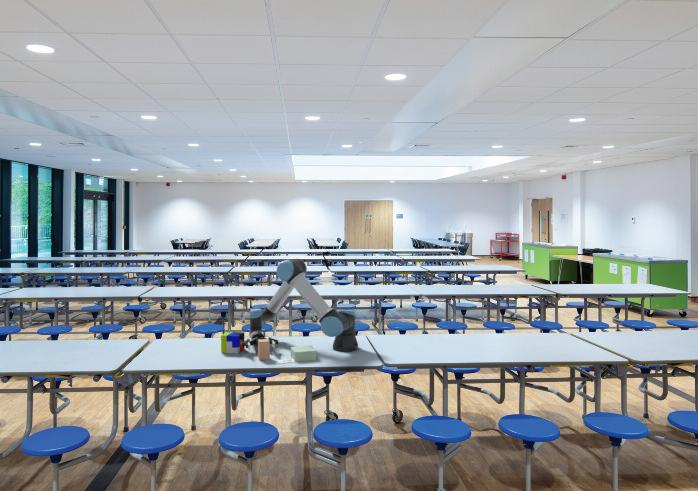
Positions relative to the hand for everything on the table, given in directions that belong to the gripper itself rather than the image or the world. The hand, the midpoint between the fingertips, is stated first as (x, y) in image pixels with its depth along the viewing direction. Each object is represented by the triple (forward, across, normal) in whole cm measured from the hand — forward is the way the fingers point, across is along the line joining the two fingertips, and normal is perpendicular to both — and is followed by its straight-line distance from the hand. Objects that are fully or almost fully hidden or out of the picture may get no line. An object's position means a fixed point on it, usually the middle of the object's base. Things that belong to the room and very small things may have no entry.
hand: (262, 346), depth 285 cm
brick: (+3, 0, -6) cm, 7 cm away
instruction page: (+12, -12, -6) cm, 18 cm away
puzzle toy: (-19, +15, -6) cm, 25 cm away
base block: (+8, -22, -6) cm, 24 cm away
